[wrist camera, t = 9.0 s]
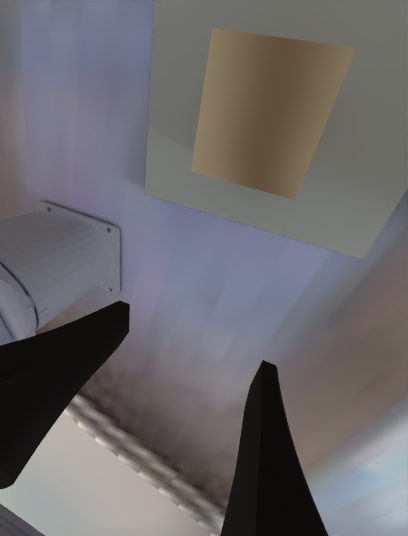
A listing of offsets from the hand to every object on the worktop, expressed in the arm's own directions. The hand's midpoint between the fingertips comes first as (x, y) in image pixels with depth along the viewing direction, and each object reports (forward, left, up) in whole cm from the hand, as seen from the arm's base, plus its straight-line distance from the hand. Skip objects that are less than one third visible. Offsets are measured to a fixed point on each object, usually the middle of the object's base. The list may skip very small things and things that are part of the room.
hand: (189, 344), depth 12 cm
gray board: (0, +10, -9) cm, 14 cm away
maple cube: (0, +10, -8) cm, 13 cm away
